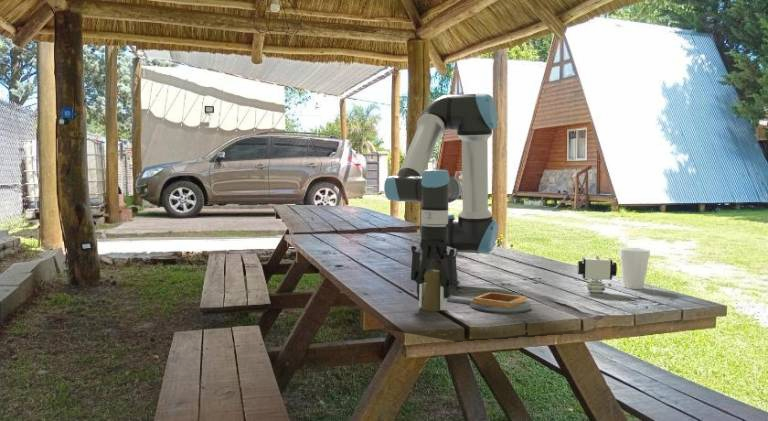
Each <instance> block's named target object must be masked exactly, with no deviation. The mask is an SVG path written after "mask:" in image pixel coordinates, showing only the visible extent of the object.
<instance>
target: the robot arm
mask: <svg viewBox="0 0 768 421" xmlns="http://www.w3.org/2000/svg"><path fill="white" fill-rule="evenodd" d="M416 127H417V128H416V131H415V133H414V136H413V138H412V140H411V142H410V145H409V147H408V150H407V152H406V153H405V157H404V158H403V161H402V163H401V166H400V169H399V170H398V173H397V175H389V176H388V177H386V179H385V180H384V184H383V191H384V192H383V193H384V195H385V198H386V199H387V200H388V201H393V202H394V201H395V202H398V203H399V202H419V203H421V206H420V207H421V209H420V210H421V211H420V216H421V217H420V222H421V223H420V224H421V225H420V230H419V231H420V243H419V244H415V245H412V246H411V247H410V249H411V254H412V258H411V270H410V280H411V281H414V282H416V294H419V297H418V307H420V308H422V306H423V300H424V293H425V286H426V281H425V278H424V274H425V272H426V271H427V270H439V271H440V275H441V279H442V281H441V287H440V310H442V311H445V310H446V309H448V301H447V298H449V297H450V296H451V286H453V285H456V284H457V283H458V281H459V273H458V270H457V255H458V253H466V254H477V255H480V254H481V255H482V254H490V253H492V251H493V250H494V249H495V245H496V244H497V243H496V242H497V237H498V231H499V230H498V229H499V226H498V221H497V220H495V219H493V213H492V212H491V211H490V210H489V196H488V195H489V188H488V187H489V186H488V185H489V182H488V181H489V179H488V171H489V170H488V169H489V167H488V163H489V160H488V159H489V158H488V157H489V156H488V153H489V152H488V149H489V148H488V146H489V145H488V139H489V138H490V137H491V136H492V135H493V130H495V129H497V128H498V110H497V107H496V102H495V99H494V98H493V97H492V96H491V95H490V94H487V93H466V94H447V95H446V94H445V95H442V96H440V97H438V98H435V100H433V101H431V103H429V104H428V105H427V106H426V107H425V108H424V109H423V110H422V112H421V113H420V115H419V116H418V119H417V121H416ZM448 130H451V131H452V130H454V131H455V130H456V136H457V137H458V138H459V139H460V141H461V176H462V178H461V180H462V183H460V182H459V180H458V179H457V178H455V177H453V176H450V173H449V171H448V170H447V169H427V167H428V165H429V162H430V160H431V157H432V155H433V153H434V150H435V147H436V145H437V142H438V140H439V138H440V137H441V136H442V135H444V133H445V131H448ZM461 193H462V210H461V211H460V212H459V213H458V216H457V217H458V218H456V217H455V214H449V204H450V203H452V202H455V201H457V200H458V199H459V197H460V195H461Z"/></svg>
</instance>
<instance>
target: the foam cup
mask: <svg viewBox="0 0 768 421" xmlns="http://www.w3.org/2000/svg"><path fill="white" fill-rule="evenodd" d="M650 254H651V250H650V249H648V248H642V247H641V248H640V247H639V248H638V247H620V248H619V256H620V267H621V268H620V269H621V276H622V277H621V278H622V284H623V285H622V287H623V288H625V287H626V289H631V290H632V289H634V290H641V289H644V286H645V280H646V274H647V270H648V264H649V258H650Z"/></svg>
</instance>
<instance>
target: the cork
mask: <svg viewBox="0 0 768 421" xmlns="http://www.w3.org/2000/svg"><path fill="white" fill-rule="evenodd" d="M424 278H425V281H426V286H425V293H424V300H423V306H422V307H421V308H422V310H423V311H425V312H442V311H443V310H440V287H441V286H442V284H441V281H442V279H441V275H440V271H439V270H427V271H426V272H425V274H424Z"/></svg>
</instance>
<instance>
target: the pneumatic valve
mask: <svg viewBox="0 0 768 421" xmlns="http://www.w3.org/2000/svg"><path fill="white" fill-rule="evenodd" d="M576 267H577V269H576V270H577V275H581V277H582V279H587V280H588V279H589V280H590V281H588V282H587V289H586V290H587V291H589V292H590V293H593V294H594V293H595V294H603V293H604V292H605V291H606V284H605V283H603V282H602V280H608V281H609V280H611V281H612V280H613V277H616V276H617V272H618V267H617V262H615V261H614V262H613V260H612V258H606V257H605V258H604V257H603V258H601V257H600V258H599V255H595V257H581V259H580V260H578V261H577V266H576Z"/></svg>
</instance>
